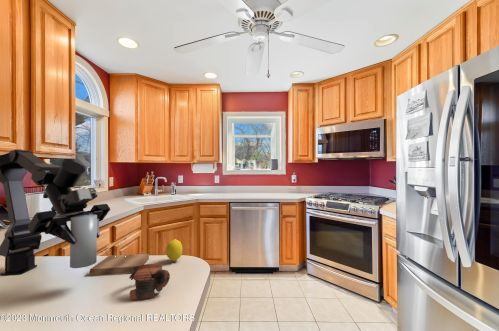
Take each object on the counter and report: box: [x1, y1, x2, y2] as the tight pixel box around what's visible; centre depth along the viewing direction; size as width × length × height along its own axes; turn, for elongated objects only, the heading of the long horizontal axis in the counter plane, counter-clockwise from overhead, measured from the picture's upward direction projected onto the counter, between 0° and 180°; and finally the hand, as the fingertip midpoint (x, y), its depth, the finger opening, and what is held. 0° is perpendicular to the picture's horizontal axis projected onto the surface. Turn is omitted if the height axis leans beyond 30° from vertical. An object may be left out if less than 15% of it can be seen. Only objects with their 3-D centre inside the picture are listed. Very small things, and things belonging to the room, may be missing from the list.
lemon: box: [165, 238, 183, 262], centre depth 84 cm, size 6×6×8 cm
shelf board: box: [89, 253, 150, 277], centre depth 79 cm, size 14×12×2 cm
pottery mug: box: [128, 263, 171, 301], centre depth 63 cm, size 12×10×8 cm
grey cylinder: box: [69, 215, 98, 269], centre depth 65 cm, size 6×6×13 cm
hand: (87, 240), depth 64 cm, fingers closed on grey cylinder, 6 cm apart
